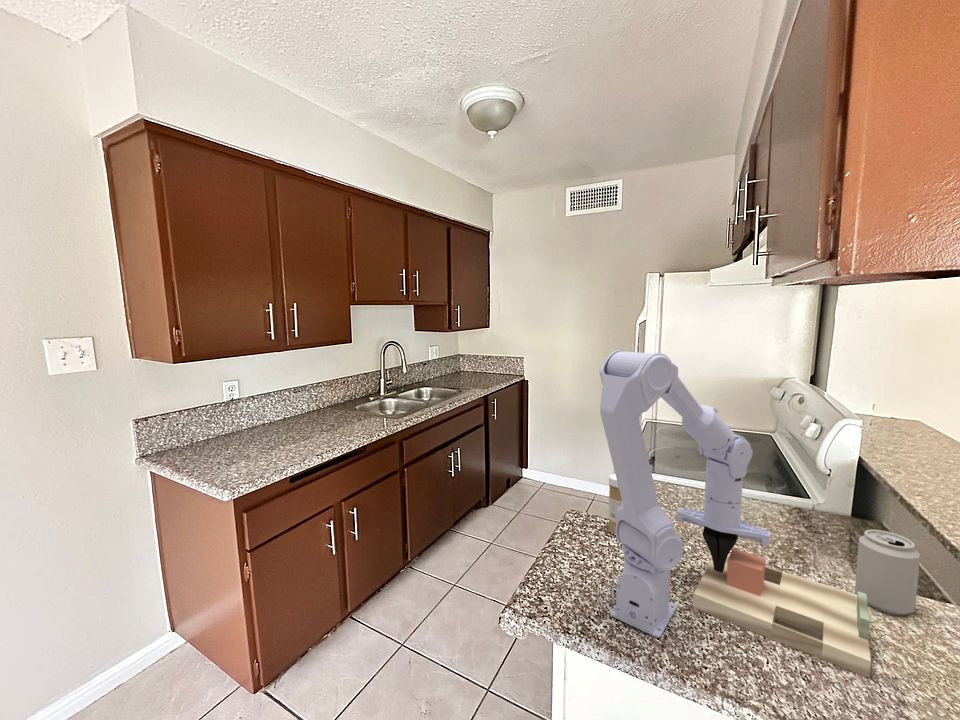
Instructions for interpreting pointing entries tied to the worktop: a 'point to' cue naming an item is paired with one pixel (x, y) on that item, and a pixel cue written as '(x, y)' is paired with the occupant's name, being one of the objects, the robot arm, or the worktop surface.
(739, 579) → the block
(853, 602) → the board
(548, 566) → the worktop surface
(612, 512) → the sprinkles bottle
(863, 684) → the worktop surface
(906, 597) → the can
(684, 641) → the worktop surface
